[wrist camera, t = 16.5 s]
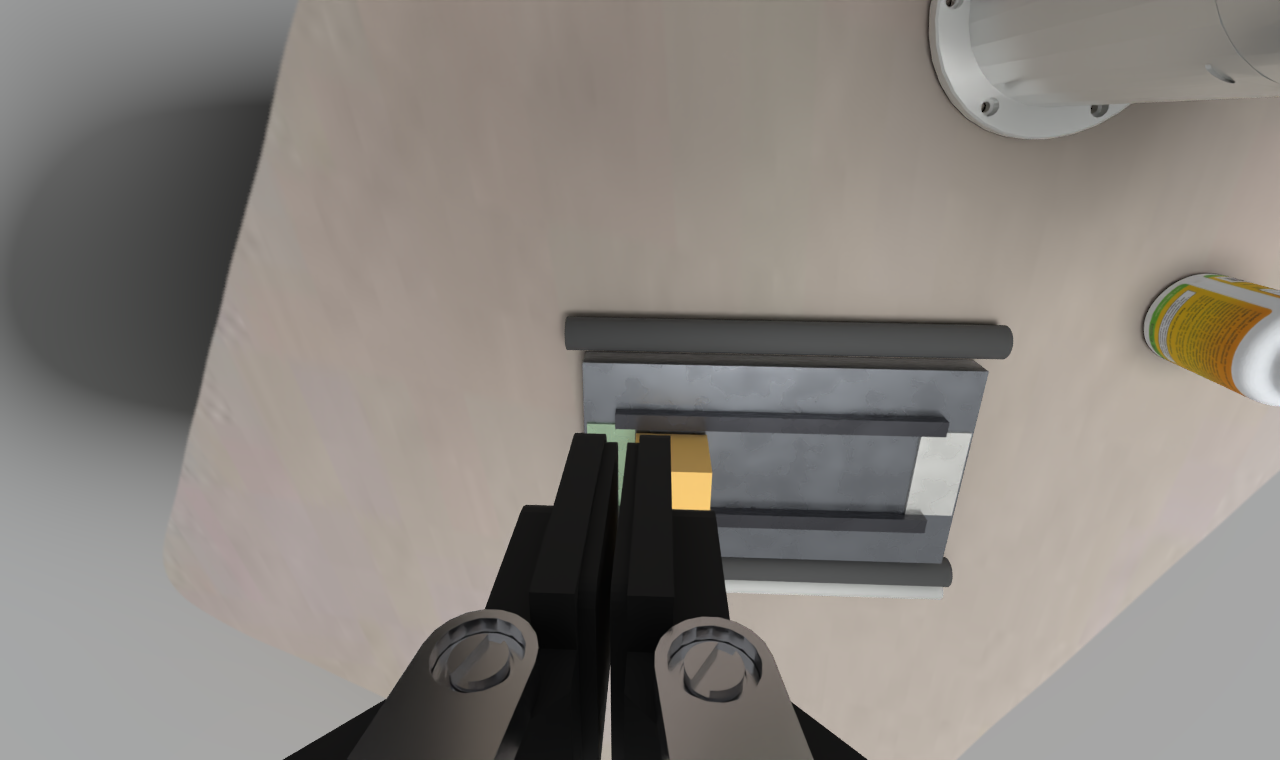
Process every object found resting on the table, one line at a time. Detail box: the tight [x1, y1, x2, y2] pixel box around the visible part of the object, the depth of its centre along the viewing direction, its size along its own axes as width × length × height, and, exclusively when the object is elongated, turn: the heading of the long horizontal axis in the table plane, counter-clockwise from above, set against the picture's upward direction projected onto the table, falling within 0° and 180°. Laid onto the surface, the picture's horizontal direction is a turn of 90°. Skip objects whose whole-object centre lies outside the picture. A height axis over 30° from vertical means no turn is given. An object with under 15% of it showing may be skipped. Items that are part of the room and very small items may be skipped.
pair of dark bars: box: [565, 317, 1013, 600], centre depth 40 cm, size 26×20×2 cm
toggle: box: [635, 433, 712, 510], centre depth 37 cm, size 4×5×4 cm
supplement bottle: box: [1144, 274, 1280, 407], centre depth 32 cm, size 5×5×10 cm
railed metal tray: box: [583, 351, 988, 564], centre depth 40 cm, size 24×14×3 cm, turn 89°
